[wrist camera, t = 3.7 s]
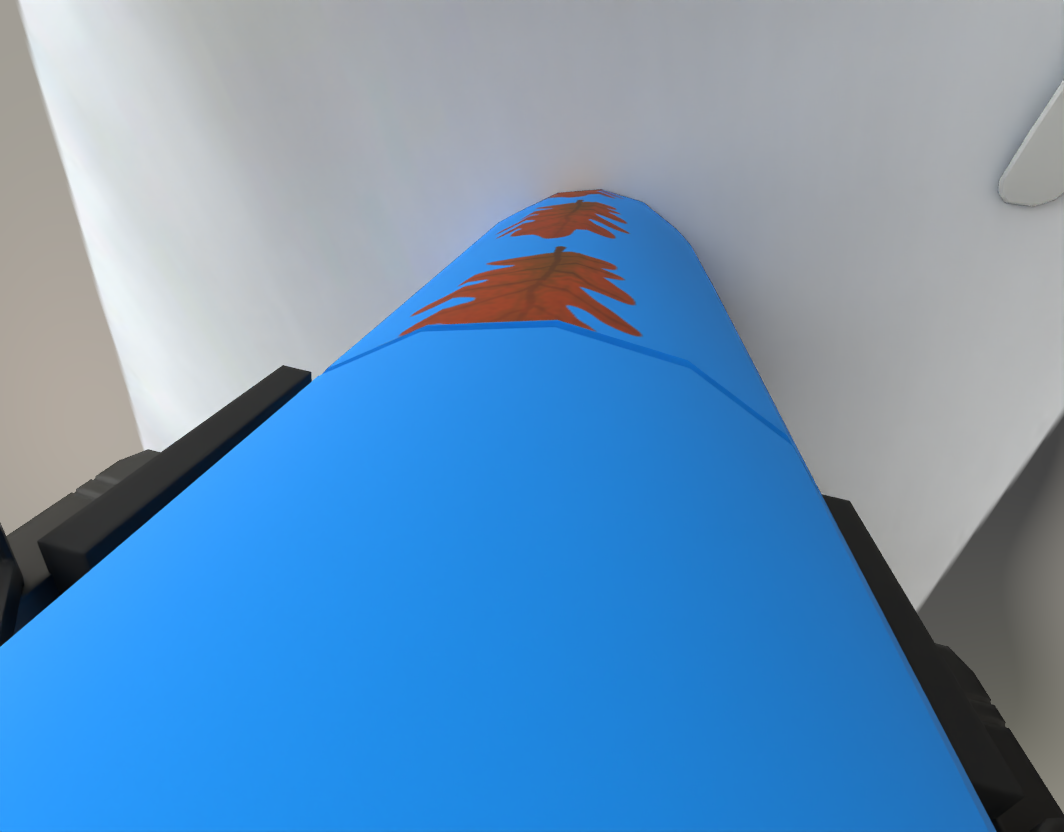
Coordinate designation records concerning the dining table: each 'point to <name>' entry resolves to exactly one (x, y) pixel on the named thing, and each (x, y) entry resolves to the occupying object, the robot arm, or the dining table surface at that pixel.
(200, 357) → the dining table surface
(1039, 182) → the fork
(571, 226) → the thermos
